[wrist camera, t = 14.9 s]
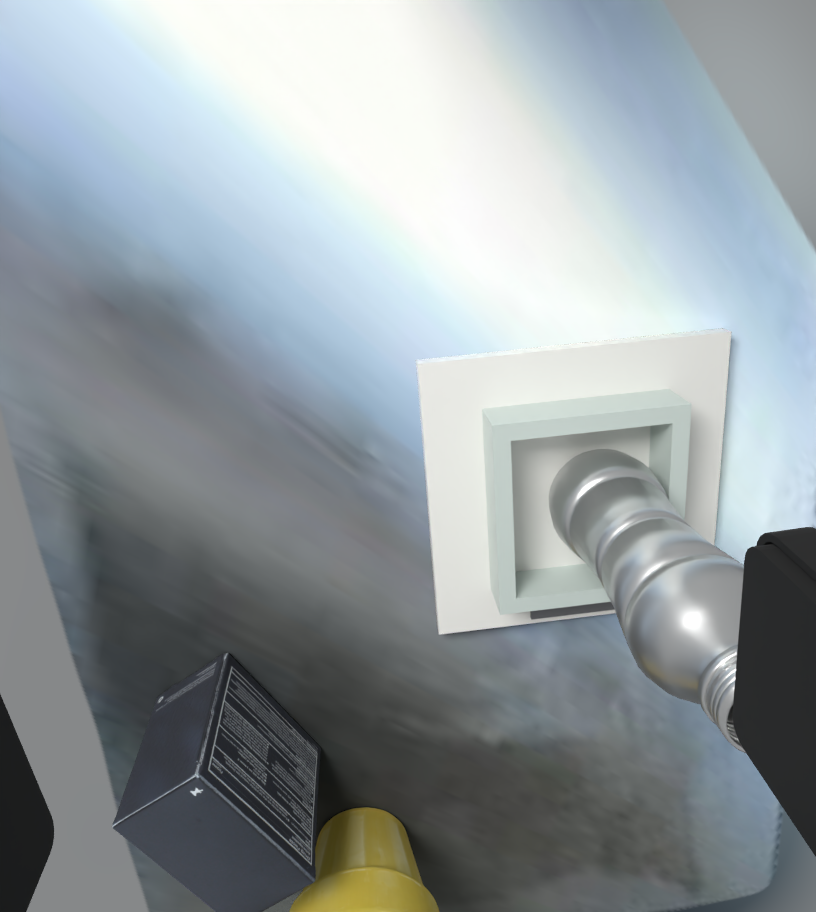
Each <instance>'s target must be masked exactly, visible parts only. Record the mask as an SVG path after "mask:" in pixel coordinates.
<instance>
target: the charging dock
mask: <svg viewBox="0 0 816 912" xmlns="http://www.w3.org/2000/svg"><path fill="white" fill-rule="evenodd" d="M730 342H731V331H728V330H726V329H723V328H721V329H711V330H701V331H691V332H682V333H672V334H662V335H653V336H643V337H633V338H623V339H614V340H604V341H594V342H584V343H575V344H565V345H555V346H546V347H536V348H526V349H516V350H507V351H497V352H487V353H478V354H468V355H458V356H448V357H439V358H429V359H419V360H416V370H417V383H418V395H419V407H420V419H421V432H422V444H423V456H424V469H425V481H426V493H427V505H428V518H429V530H430V542H431V555H432V567H433V579H434V591H435V604H436V616H437V627H438V631H439V635H440V634H448V633H456V632H464V631H473V630H481V629H489V628H497V627H506V626H514V625H522V624H530V623H539V622H547V621H555V620H563V619H572V618H580V617H588V616H596V615H605V614H613V613H616V611H615V609H614V606H613V604H612V602H611V601H610V599H609V597H608V595H607V593H606V591H605V589H604V587H603V586H602V584H601V582H600V580H599V579H598V577H597V576H596V575H595V574H594V573H593V571H592V570H591V569H590V568H589V567H588V565H587V564H586V563H585V562H584V561H583V560H582V559H581V558H579V557H578V556H577V555H576V554H574V553H573V552H572V551H571V550H570V549H569V548H568V547H567V546H566V544H565V543H564V542H563V541H562V540H561V539H560V537H559V536H558V534H557V532H556V530H555V528H554V526H553V522H552V518H551V514H550V510H549V500H548V497H549V491H550V487H551V484H552V482H553V479H554V478H555V476H556V475H557V473H558V472H559V470H560V469H561V468H562V467H563V466H564V465H565V464H566V463H567V462H568V461H570V460H571V459H572V458H574V457H575V456H577V455H580V454H582V453H584V452H587V451H591V450H595V449H612V450H617V451H620V452H623V453H625V454H627V455H629V456H631V457H633V458H635V459H637V460H639V461H640V462H642V463H644V464H645V465H646V466H647V467H648V468H649V469H650V470H651V471H652V472H653V473H654V475H655V476H656V478H657V479H658V481H659V482H660V484H661V485H662V487H663V488H664V491H665V493H666V495H667V497H668V500H669V501H670V503H671V504H672V505H673V507H674V508H675V509H676V511H677V512H678V513H679V514H680V516H681V517H682V518H683V520H684V521H685V522H686V523H687V524H688V525H690V526H691V527H692V528H693V529H694V530H695V531H696V532H698V533H699V534H700V535H701V536H702V537H703V538H704V539H706V540H707V541H708V542H709V543H711V544H712V545H714V543H715V531H716V518H717V506H718V493H719V481H720V468H721V455H722V443H723V430H724V418H725V405H726V393H727V380H728V367H729V355H730Z"/></svg>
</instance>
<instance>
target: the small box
mask: <svg viewBox="0 0 816 912" xmlns="http://www.w3.org/2000/svg"><path fill="white" fill-rule="evenodd" d="M320 754H321V748H320V746H319V745H318V744H317V743H316V742H315V741H314V740H313V739H312V738H311V737H310V736H309V735H308V734H307V733H306V732H305V731H304V730H303V729H302V728H301V727H300V726H299V725H298V724H297V723H296V722H295V721H294V720H293V718H291V717H290V716H289V714H288V713H287V712H286V711H285V710H284V709H283V708H282V707H281V706H280V705H279V704H278V703H277V702H276V701H275V700H274V699H273V698H272V697H271V696H270V695H269V694H268V693H267V692H266V691H265V690H264V689H263V688H262V687H261V686H260V685H259V684H258V683H257V682H256V681H255V680H254V679H253V678H252V677H251V675H250V674H249V673H248V672H247V671H246V670H245V669H243V667H242V666H241V665H239V663H238V662H237V661H236V660H235V659H234V658H233V657H232V656H231V655H230V654H229V653H224V654H222V655H221V656H218V657H217V658H216V659H214V661H212V662H211V663H209V664H207V665H206V666H205V667H203V668H201V669H200V670H198V671H196V672H195V673H194V674H192V675H191V676H189V677H187V678H185V679H184V680H183V681H181V682H179V683H178V684H174V685H173V686H172V687H170V688H169V689H168V690H167V691H165V692H164V693H163V694H161V695H160V696H158V697H157V699H156V702H155V706H154V708H153V711H152V714H151V717H150V720H149V723H148V726H147V729H146V732H145V735H144V737H143V740H142V743H141V746H140V749H139V752H138V754H137V758H136V760H135V764H134V766H133V769H132V772H131V775H130V777H129V780H128V783H127V786H126V789H125V791H124V794H123V797H122V800H121V803H120V806H119V809H118V812H117V815H116V818H115V820H114V822H113V825H112V827H113V829H115V830H116V831H117V832H119V833H120V834H121V835H122V836H123V837H125V838H126V839H127V840H128V841H129V842H131V843H132V844H133V845H134V846H136V847H137V848H138V849H139V850H141V851H142V852H143V853H144V854H146V855H147V856H148V857H149V858H151V859H152V860H153V861H154V862H155V863H157V864H158V865H159V866H160V867H162V868H163V869H164V870H165V871H167V872H168V873H169V874H170V875H171V876H173V877H174V878H175V879H176V880H177V881H179V882H180V883H181V884H182V885H184V886H185V887H186V888H187V889H189V890H190V891H191V892H192V893H193V894H195V895H196V896H197V897H198V898H200V899H201V900H202V901H203V902H204V903H206V904H207V905H208V906H209V907H210V908H212V909H213V910H214V911H215V912H263V911H264V910H266V909H268V908H269V907H271V906H273V905H275V904H276V903H278V902H280V901H282V900H284V899H285V898H287V897H289V896H291V895H292V894H294V893H296V892H298V891H299V890H301V889H303V888H305V887H307V886H308V885H310V884H312V883H314V882H315V879H316V867H315V845H316V843H315V841H316V835H315V834H316V824H317V801H318V783H319V765H320Z"/></svg>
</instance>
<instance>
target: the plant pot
mask: <svg viewBox="0 0 816 912" xmlns="http://www.w3.org/2000/svg"><path fill="white" fill-rule="evenodd" d="M315 867H316V879H315V882H314V883H312V884H310V885H308V886H307V887H305V888H303V892H302V893H301V894H300V895H299V896H298V897H297V899H296V900H295V901H294V903H293V905H292V907H291V909H290V911H289V912H439V909H438V906H437V903H436V901H435V899H434V898H433V896H432V895H431V893H430V892H429V891H428V890H427V889H426V888H425V887H424V886H423V883H422V880H421V877H420V874H419V871H418V868H417V865H416V862H415V858H414V855H413V852H412V849H411V846H410V843H409V839H408V836H407V833H406V830H405V828H404V826H403V825H402V823H401V822H400V821H399V820H398V819H397V818H396V817H395V816H393V815H392V814H390V813H388V812H386V811H384V810H381V809H376V808H369V807H363V808H353V809H350V810H346V811H343V812H341V813H339V814H337V815H335V816H334V817H332V818H331V819H330V820H329V821H328V822H327V823H326V824H325V825H324V826H323V828H322V829H321V831H320V834H319V836H318V840H317V844H316V847H315Z"/></svg>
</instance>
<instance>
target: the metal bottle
mask: <svg viewBox="0 0 816 912" xmlns="http://www.w3.org/2000/svg"><path fill="white" fill-rule="evenodd" d="M548 500H549V510H550V514H551V518H552V522H553V526H554V528H555V530H556V532H557V534H558V536H559V537H560V539H561V540H562V541H563V542H564V543H565V544H566V546H567V547H568V548H569V549H570V550H571V551H572V552H573V553H574V554H576V555H577V556H578V557H579V558H581V559H582V560H583V561H584V562H585V563H586V564H587V565H588V567H589V568H590V569H591V570H592V571H593V573H594V574H595V575H596V576H597V577H598V579H599V580H600V582H601V584H602V586H603V587H604V589H605V591H606V593H607V595H608V597H609V599H610V601H611V602H612V604H613V606H614V609H615V611H616V614H617V617H618V620H619V622H620V625H621V628H622V630H623V633H624V636H625V639H626V641H627V644H628V646H629V648H630V650H631V652H632V655H633V656H634V659H635V661H636V663H637V665H638V667H639V668H640V669H641V670H642V672H643V673H644V674H645V675H646V676H647V677H648V678H649V679H651V680H652V681H653V682H654V683H656V684H657V685H658V686H659V687H661V688H662V689H663V690H665V691H666V692H667V693H669V694H671V695H673V696H675V697H678V698H680V699H683V700H687V701H690V702H693V703H697V704H701V707H702V709H703V710H704V712H705V713H706V715H707V716H708V717H709V718H710V720H711V721H712V722H713V723H715V724H716V725H717V726H718V728H719V729H720V731H721V732H722V734H723V735H724V737H725V738H726V739H727V740H728V742H730V743H731V744H732V745H733V746H734V747H735V748H737V749H738V750H740V751H742V752H744V753H746V752H745V750H744V749H743V747H742V746H741V744H740V742H739V740H738V738H737V735H736V732H735V729H734V725H733V716H732V712H733V699H734V687H735V674H736V662H737V649H738V636H739V624H740V611H741V599H742V586H743V574H744V565H742V564H741V563H739V562H738V561H736V560H735V559H733V558H732V557H730V556H729V555H727V554H726V553H724V552H723V551H721V550H720V549H718V548H717V547H715V546H714V545H712V544H711V543H709V542H708V541H707V540H706V539H704V538H703V537H702V536H701V535H700V534H699V533H698V532H696V531H695V530H694V529H693V528H692V527H691V526H690V525H688V524H687V523H686V522H685V521H684V520H683V518H682V517H681V516H680V514H679V513H678V512H677V511H676V509H675V508H674V507H673V505H672V504H671V503H670V501H669V500H668V497H667V495H666V493H665V491H664V488H663V487H662V485H661V484H660V482H659V481H658V479H657V478H656V476H655V475H654V473H653V472H652V471H651V470H650V469H649V468H648V467H647V466H646V465H645V464H644V463H642V462H640V461H639V460H637V459H635V458H633V457H631V456H629V455H627V454H625V453H623V452H620V451H617V450H612V449H595V450H591V451H587V452H584V453H582V454H580V455H577V456H575V457H574V458H572V459H571V460H570V461H568V462H567V463H566V464H565V465H564V466H563V467H562V468H561V469H560V470H559V472H558V473H557V475H556V476H555V478H554V479H553V482H552V484H551V487H550V491H549V497H548Z"/></svg>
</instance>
